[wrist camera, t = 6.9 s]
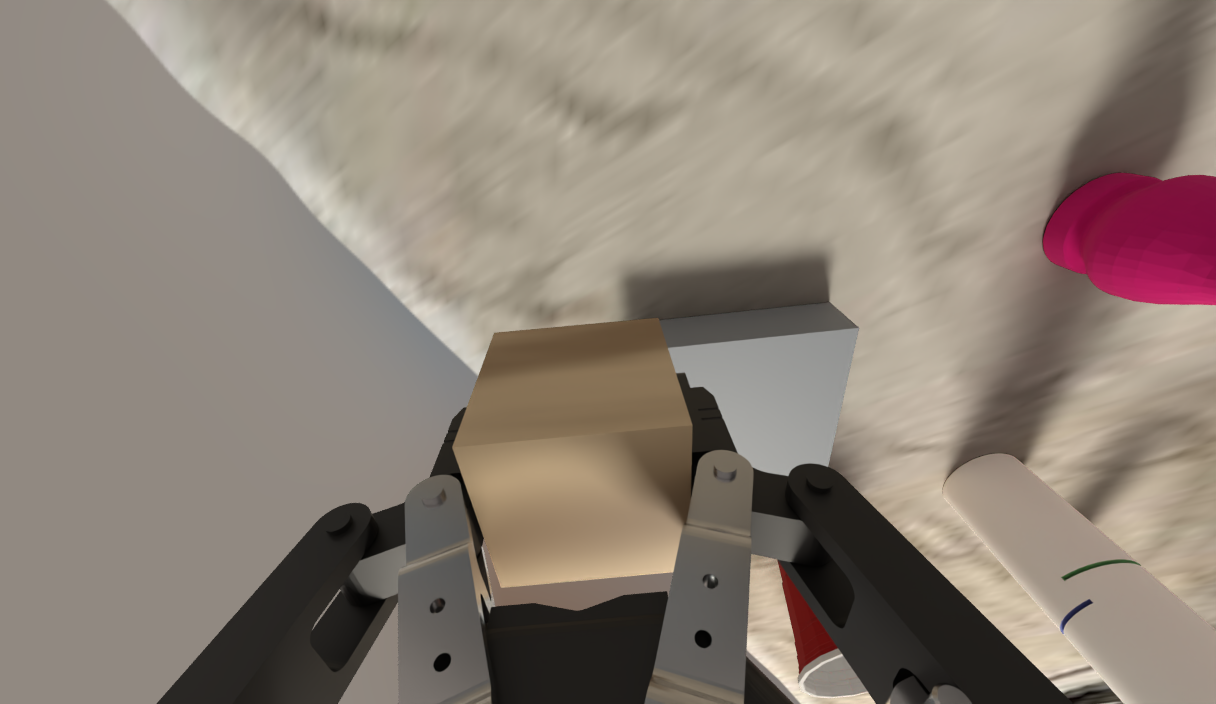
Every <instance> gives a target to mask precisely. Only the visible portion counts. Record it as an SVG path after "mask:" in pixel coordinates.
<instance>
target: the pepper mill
mask: <svg viewBox="0 0 1216 704" xmlns="http://www.w3.org/2000/svg"><path fill="white" fill-rule="evenodd" d="M1043 247H1044V252H1045V254H1046V256H1047V257H1048V259H1049V260H1050V261H1051V262H1053V263H1054V264H1056V265H1059V266H1061V267H1064V268H1067V269H1069V270H1072V271H1075V272H1077V273H1081V274H1087V275H1088V277H1089V279H1090V280H1091V281H1092V283H1093V284H1094V285H1095V286H1096V287H1098V288H1099V289H1100V290H1102V291H1104V292H1106V293H1108V294H1111V295H1114V296H1118V297H1122V298H1125V299H1129V300H1132V301H1138V302H1146V303H1154V304H1180V305H1189V304H1201V305H1216V177H1213V176H1206V175H1187V176H1181V177H1176V178H1172V179H1168V180H1164V181H1162V180H1160V179H1157V178H1155V177H1149V176H1143V175H1136V174H1130V173H1113V174H1109V175H1105V176H1102V177H1100V178H1097V179H1095V180H1092V181H1090V182H1088V183H1087V184H1085V185H1084V186H1082V187H1081V188H1079V189H1077V190H1076V191H1075V192H1073V193H1072V194H1071V195H1070V196H1069V197H1068V198H1067V199H1066V200H1065V201H1063V202H1062V204H1061V205H1060V206H1059V207H1058V209H1057V210H1056V211H1055V212H1054V214H1053V216H1052V217H1051V219H1050V221H1049V223H1048V225H1047V226H1046V230H1045V234H1044V238H1043Z"/></svg>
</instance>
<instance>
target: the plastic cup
mask: <svg viewBox="0 0 1216 704" xmlns="http://www.w3.org/2000/svg"><path fill="white" fill-rule="evenodd" d="M778 564H779V568H780V573H781V577H782V581H783V583H782V585H783V590H784V594H785V599H786V603H787V607H788V612H789V616H790V620H791V625H792V629H793V634H794V638H795V646H796V651H797V659H798V663H799V676H798V684H799V687H800V689H801V692H803V693H805V694H808V695H810V696H812V697H822V698H838V697H848V696H855V695H859V694H864V693H868V691H867V690H866V688H865V687H864V685H863V684H862V682H861V681H860V679H859V678H858V677H857V675H856V674H855V672H854V671H853V669H852V668H851V666H850V665H849V663H848V662H847V661H846V659H845V658H844V656H843V655H842V653H841V652H840V650H839V649H838V647H837V646H836V645H835V643H834V642H833V640H832V639H831V637H830V636H829V634H828V633H827V631H826V630H825V629H824V627H823V626H822V624H821V623H820V621H819V620H818V618H817V617H816V615H815V614H814V613H813V611H812V610H811V608H810V607H809V605H808V604H807V602H806V601H805V599H804V598H803V597H802V595H801V594H800V592H799V591H798V589H797V588H796V586H795V585H794V583H793V582H792V581H791V579H790V578H789V576H788V575H787V573H786V572H785V570H784V569H783V567H782V566H781V565H780V563H779V561H778Z"/></svg>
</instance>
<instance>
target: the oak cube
mask: <svg viewBox="0 0 1216 704" xmlns="http://www.w3.org/2000/svg"><path fill="white" fill-rule="evenodd" d="M692 426H693V425H692V422H691V419H690V416H689V413H688V410H687V406H686V403H685V400H684V397H683V394H682V391H681V388H680V385H679V381H678V378H677V375H676V372H675V369H674V366H673V363H672V359H671V356H670V353H669V350H668V347H667V344H666V341H665V338H664V334H663V331H662V328H661V325H660V322H659V319H658V318H650V319H639V320H629V321H618V322H607V323H596V324H585V325H574V326H564V327H553V328H542V329H531V330H520V331H509V332H499V333H494V335H493V338H492V340H491V343H490V346H489V349H488V351H487V354H486V357H485V360H484V362H483V365H482V368H481V370H480V373H479V376H478V379H477V381H476V384H475V387H474V389H473V392H472V395H471V398H470V400H469V403H468V406H467V408H466V411H465V414H464V417H463V419H462V422H461V425H460V428H459V430H458V433H457V436H456V438H455V441H454V444H453V447H452V448H453V451H454V454H455V457H456V460H457V462H458V465H459V468H460V471H461V474H462V477H463V480H464V483H465V485H466V488H467V491H468V494H469V497H470V500H471V503H472V505H473V508H474V511H475V514H476V517H477V520H478V523H479V525H480V528H481V531H482V534H483V537H484V539H485V543H486V546H487V548H488V551H489V554H490V557H491V560H492V562H493V566H494V568H495V571H496V574H497V577H498V580H499V583H500V585H501V588H503V587H515V586H525V585H535V584H548V583H559V582H569V581H580V580H591V579H603V578H613V577H623V576H624V577H625V576H635V575H647V574H657V573H668V572H673V571H674V566H675V561H676V556H677V551H678V546H679V541H680V536H681V532H682V527H683V524H684V523H686V522H687V517H688V512H689V507H690V501H691V469H692Z"/></svg>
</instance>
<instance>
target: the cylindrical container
mask: <svg viewBox="0 0 1216 704" xmlns="http://www.w3.org/2000/svg"><path fill="white" fill-rule="evenodd" d="M943 496H944V498H945V499H946V501H947V502H948V503H949V504H950V505H951V506H952V508H953V509H954V510H955V511H956V512H957V513H958V514H959V516H960V517H961V518H962V519H963V520H964V521H965V522H966V524H967V525H968V526H969V527H970V528H971V529H972V530H973V532H974V533H975V534H976V535H977V536H978V537H979V538H980V540H981V541H982V542H983V543H984V544H985V545H986V546H987V548H988V549H989V550H990V551H991V552H992V553H993V554H994V556H995V557H996V558H997V559H998V560H999V561H1000V562H1001V564H1002V565H1003V566H1004V567H1005V568H1006V569H1007V570H1008V572H1009V573H1010V574H1011V575H1012V576H1013V577H1014V578H1015V580H1016V581H1017V582H1018V583H1019V584H1020V585H1021V586H1022V588H1023V589H1024V590H1025V591H1026V592H1027V593H1028V594H1029V596H1030V597H1031V598H1032V599H1033V600H1034V601H1035V602H1036V604H1037V605H1038V606H1039V607H1040V608H1041V609H1042V610H1043V612H1044V613H1045V614H1046V615H1047V616H1048V617H1049V618H1050V620H1051V621H1052V622H1053V623H1054V624H1055V625H1056V626H1057V628H1058V629H1059V630H1060V631H1061V632H1062V633H1063V634H1064V635H1065V637H1066V638H1067V639H1068V640H1069V641H1070V642H1071V644H1072V645H1073V646H1074V647H1075V648H1076V649H1077V650H1078V652H1079V653H1080V654H1081V655H1082V656H1083V657H1084V658H1085V660H1086V661H1087V662H1088V663H1089V664H1090V665H1091V666H1092V668H1093V669H1094V670H1095V671H1096V672H1097V673H1098V675H1099V676H1100V677H1101V678H1102V679H1103V680H1104V681H1105V683H1106V684H1107V685H1108V686H1109V687H1110V688H1111V689H1112V691H1113V692H1114V693H1115V694H1116V695H1117V696H1118V697H1119V699H1120V700H1121V701H1122V702H1123V703H1124V704H1216V629H1214V628H1213V627H1212V626H1211V625H1210V624H1209V623H1207V622H1206V621H1205V620H1204V619H1203V618H1202V617H1200V616H1199V615H1198V614H1197V613H1196V612H1195V611H1193V610H1192V609H1191V608H1190V607H1189V606H1188V605H1186V604H1185V603H1184V602H1183V601H1182V600H1181V599H1180V598H1178V597H1177V596H1176V595H1175V594H1174V593H1173V592H1171V591H1170V590H1169V589H1168V588H1167V587H1166V586H1164V585H1163V584H1162V583H1161V582H1160V581H1159V580H1157V579H1156V578H1155V577H1154V576H1153V575H1152V574H1151V573H1149V572H1148V571H1147V570H1146V569H1145V568H1143V567H1142V566H1141V565H1140V564H1139V563H1138V562H1137V561H1135V560H1134V559H1133V558H1132V557H1131V556H1130V555H1128V554H1127V553H1126V552H1125V551H1124V550H1123V549H1121V548H1120V547H1119V546H1118V545H1117V544H1116V543H1114V542H1113V541H1112V540H1111V539H1110V538H1109V537H1107V536H1106V535H1105V534H1104V533H1103V532H1102V531H1101V530H1099V529H1098V528H1097V527H1096V526H1095V525H1094V524H1092V523H1091V522H1090V521H1089V520H1088V519H1087V518H1085V517H1084V516H1083V515H1082V514H1081V513H1080V512H1078V511H1077V510H1076V509H1075V508H1074V507H1073V506H1071V505H1070V504H1069V503H1068V502H1067V501H1066V500H1064V499H1063V498H1062V497H1061V496H1060V495H1059V494H1057V493H1056V492H1055V491H1054V490H1053V489H1052V488H1050V487H1049V486H1048V485H1047V484H1046V483H1045V482H1043V481H1042V480H1041V479H1040V478H1039V477H1038V476H1036V475H1035V474H1034V473H1033V472H1032V471H1031V470H1029V469H1028V468H1027V467H1026V466H1025V465H1024V464H1023V463H1021V462H1020V461H1019V460H1018V459H1017V458H1015V457H1014V456H1011V455H1009V454H1003V453H996V454H989V455H985V456H981V457H978V458H975V459H973V460H971V461H969V462H967V463H965V464H963V465H962V466H960V467H959V468H958V469H956V470H955V471H954V472H953V473H952V474H951V475H950V476H949V477H948V479H947V480H946V482H945V484H944V487H943Z"/></svg>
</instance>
